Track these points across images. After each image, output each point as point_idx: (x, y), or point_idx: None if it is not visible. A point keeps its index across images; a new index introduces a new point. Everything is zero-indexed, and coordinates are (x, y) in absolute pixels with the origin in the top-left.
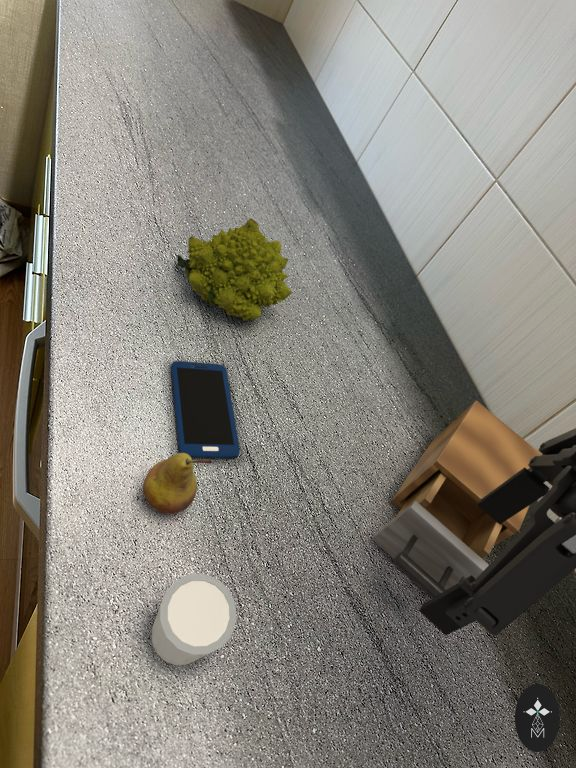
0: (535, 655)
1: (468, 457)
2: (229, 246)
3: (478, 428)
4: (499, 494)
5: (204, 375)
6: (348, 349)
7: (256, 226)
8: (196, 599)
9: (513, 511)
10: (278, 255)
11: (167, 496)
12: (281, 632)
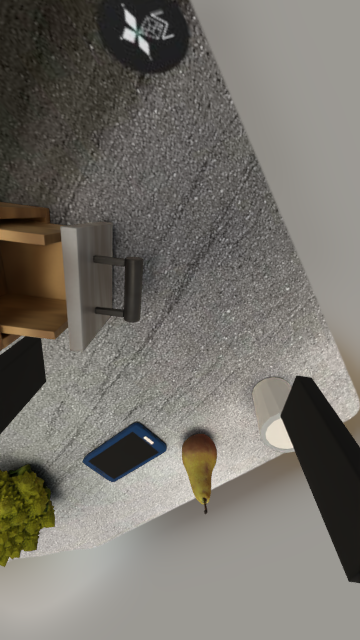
0: (70, 57)
1: None
2: (7, 556)
3: None
4: (8, 416)
5: (102, 466)
6: None
7: None
8: (281, 437)
9: (8, 372)
10: None
11: (213, 462)
12: (233, 340)
